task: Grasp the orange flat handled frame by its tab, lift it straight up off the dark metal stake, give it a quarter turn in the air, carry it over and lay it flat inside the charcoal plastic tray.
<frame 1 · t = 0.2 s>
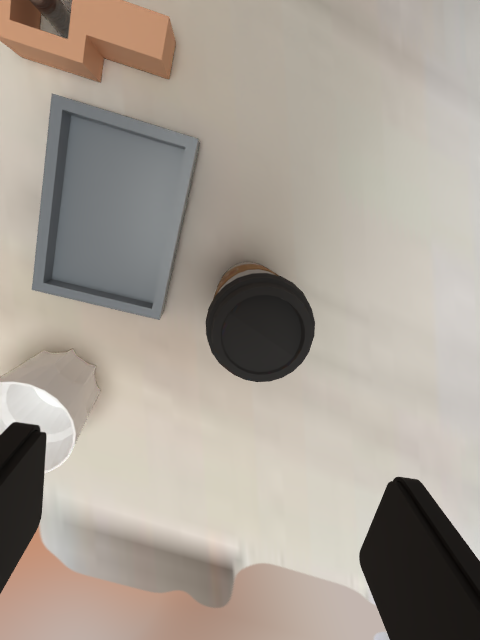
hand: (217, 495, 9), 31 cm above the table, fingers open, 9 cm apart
coffee cup: (247, 289, 39), on the table
tray: (118, 217, 36), on the table
orange flat handled frame: (66, 25, 31), on the table
stake: (66, 25, 31), on the table
cup: (65, 379, 41), on the table
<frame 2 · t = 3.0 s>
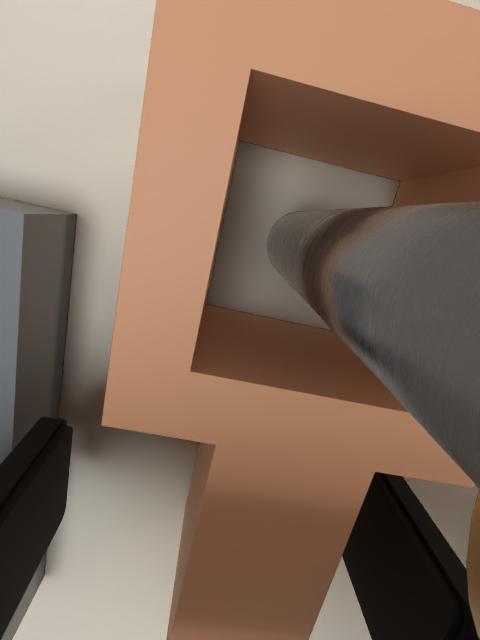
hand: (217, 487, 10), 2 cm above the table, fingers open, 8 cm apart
orange flat handled frame: (299, 245, 10), on the table
stake: (299, 245, 10), on the table
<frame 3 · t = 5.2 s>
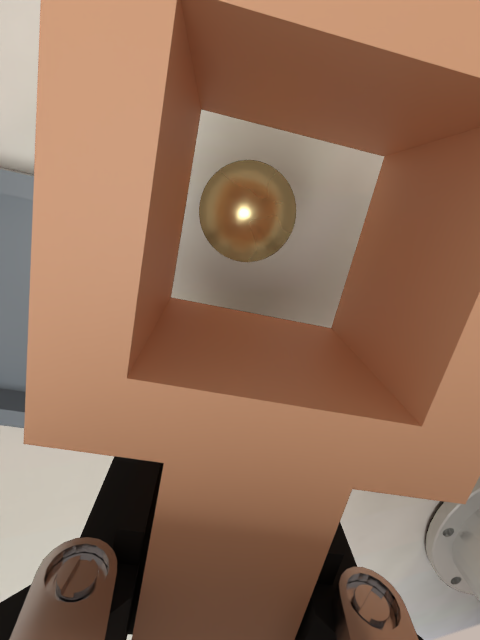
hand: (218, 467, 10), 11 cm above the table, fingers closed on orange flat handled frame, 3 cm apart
orange flat handled frame: (273, 230, 9), point 11 cm above the table, touching gripper
stake: (229, 208, 19), on the table
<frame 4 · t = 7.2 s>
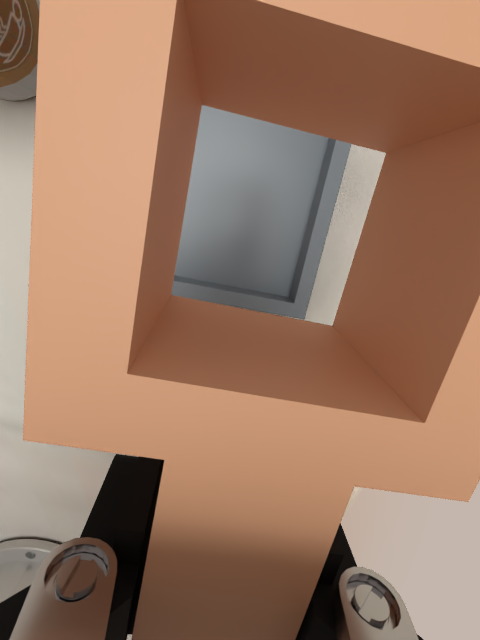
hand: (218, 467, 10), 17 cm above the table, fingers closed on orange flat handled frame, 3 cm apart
coffee cup: (11, 45, 21), on the table
tray: (238, 169, 24), on the table
orange flat handled frame: (274, 226, 9), point 17 cm above the table, touching gripper
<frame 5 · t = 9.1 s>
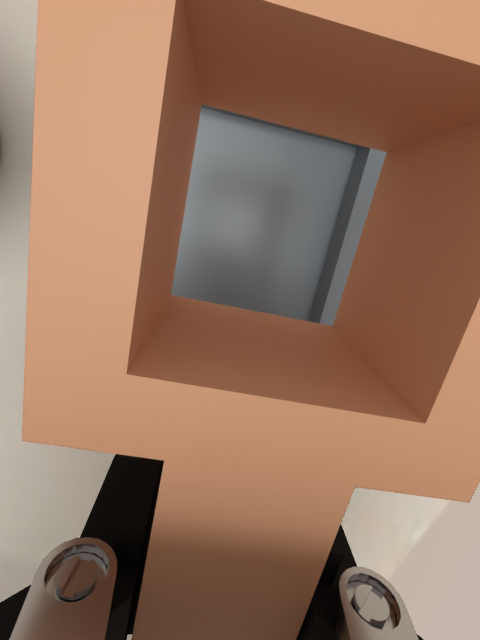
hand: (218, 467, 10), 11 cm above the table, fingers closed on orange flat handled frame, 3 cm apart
tray: (220, 276, 20), on the table
orange flat handled frame: (274, 226, 9), point 11 cm above the table, touching gripper
when the fingers open (2 cm above the table, at t = 10.8 s): orange flat handled frame drops 2 cm, resting on tray.
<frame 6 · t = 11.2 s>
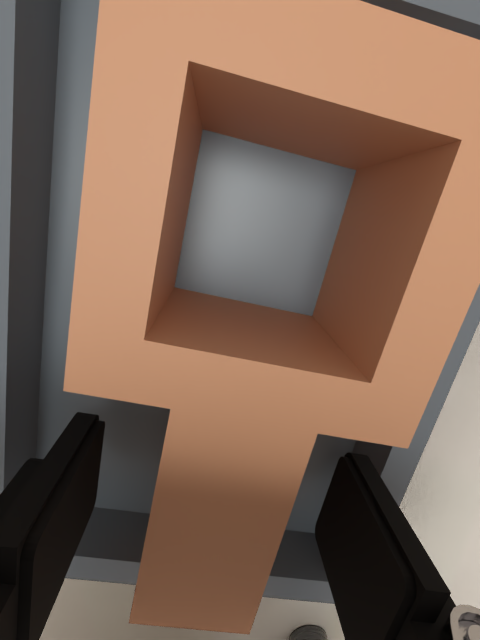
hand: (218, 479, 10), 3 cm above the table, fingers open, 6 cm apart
tray: (226, 315, 12), on the table
orange flat handled frame: (262, 230, 10), point 1 cm above the table, touching tray
stake: (307, 638, 17), on the table
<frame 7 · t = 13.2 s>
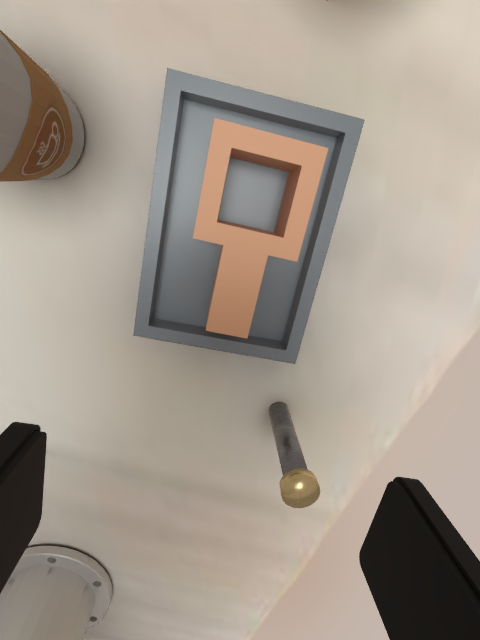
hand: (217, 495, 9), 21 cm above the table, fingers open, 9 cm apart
coffee cup: (42, 131, 25), on the table
tray: (238, 233, 27), on the table
orange flat handled frame: (252, 196, 26), point 1 cm above the table, touching tray
stake: (278, 410, 33), on the table
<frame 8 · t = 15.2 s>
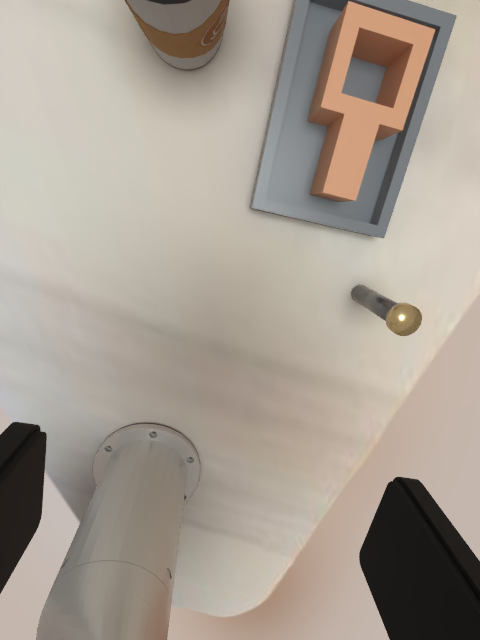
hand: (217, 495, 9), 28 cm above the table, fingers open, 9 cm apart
coffee cup: (185, 29, 30), on the table
tray: (338, 124, 32), on the table
orange flat handled frame: (355, 88, 31), point 1 cm above the table, touching tray
stake: (359, 293, 38), on the table
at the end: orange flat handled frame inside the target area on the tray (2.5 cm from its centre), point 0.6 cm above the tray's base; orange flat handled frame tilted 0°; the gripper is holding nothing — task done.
